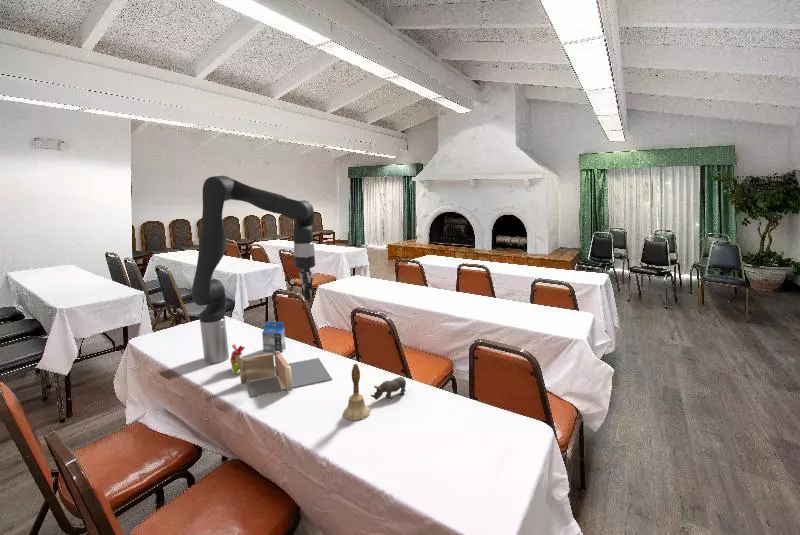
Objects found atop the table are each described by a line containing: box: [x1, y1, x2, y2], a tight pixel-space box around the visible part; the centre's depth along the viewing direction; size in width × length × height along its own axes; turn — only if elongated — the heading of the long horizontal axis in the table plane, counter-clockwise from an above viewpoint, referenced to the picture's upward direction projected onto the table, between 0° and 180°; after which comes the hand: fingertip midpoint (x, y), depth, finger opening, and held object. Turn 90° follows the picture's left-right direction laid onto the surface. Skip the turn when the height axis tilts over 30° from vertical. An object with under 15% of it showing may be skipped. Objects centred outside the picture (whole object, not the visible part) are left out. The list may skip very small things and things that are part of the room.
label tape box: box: [261, 321, 287, 353], centre depth 174 cm, size 9×4×12 cm, turn 80°
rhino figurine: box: [370, 376, 407, 401], centre depth 133 cm, size 4×14×6 cm, turn 122°
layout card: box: [247, 357, 333, 398], centre depth 150 cm, size 21×28×1 cm
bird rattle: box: [230, 344, 246, 375], centre depth 154 cm, size 6×11×9 cm
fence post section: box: [239, 351, 281, 384], centre depth 147 cm, size 2×14×9 cm, turn 115°
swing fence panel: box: [276, 353, 293, 392], centre depth 142 cm, size 2×14×8 cm, turn 30°
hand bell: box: [342, 363, 371, 421], centre depth 123 cm, size 8×8×16 cm
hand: (307, 299), depth 154 cm, fingers closed
